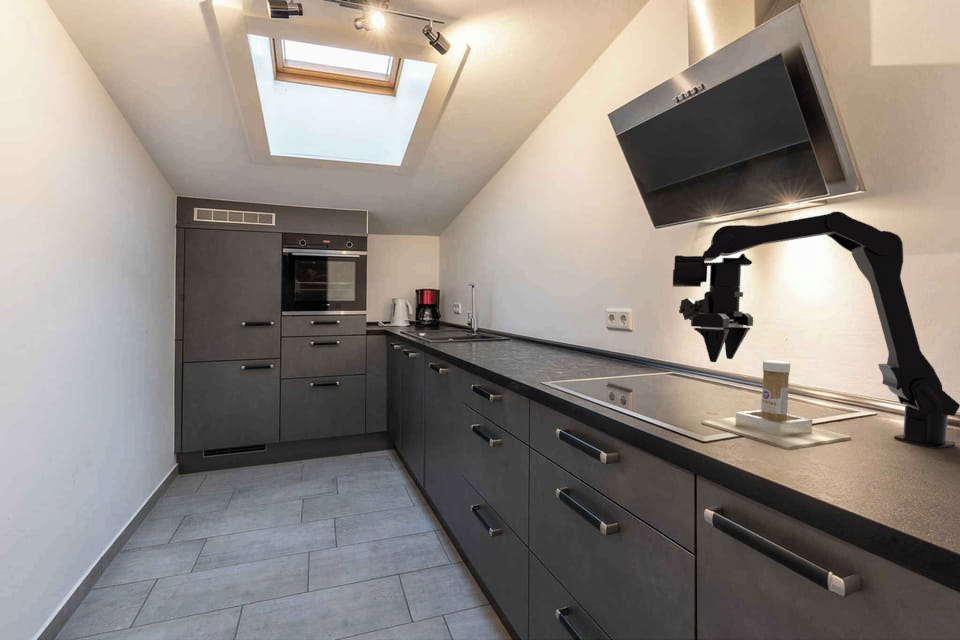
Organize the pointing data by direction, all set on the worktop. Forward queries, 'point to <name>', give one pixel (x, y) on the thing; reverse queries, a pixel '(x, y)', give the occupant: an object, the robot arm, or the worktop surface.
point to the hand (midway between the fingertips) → (721, 360)
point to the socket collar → (774, 424)
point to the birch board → (784, 442)
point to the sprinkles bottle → (775, 390)
